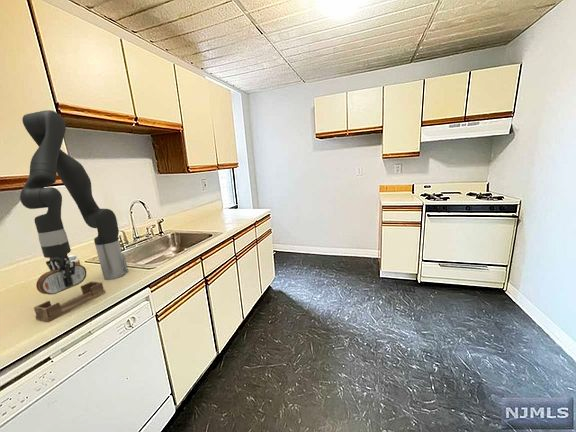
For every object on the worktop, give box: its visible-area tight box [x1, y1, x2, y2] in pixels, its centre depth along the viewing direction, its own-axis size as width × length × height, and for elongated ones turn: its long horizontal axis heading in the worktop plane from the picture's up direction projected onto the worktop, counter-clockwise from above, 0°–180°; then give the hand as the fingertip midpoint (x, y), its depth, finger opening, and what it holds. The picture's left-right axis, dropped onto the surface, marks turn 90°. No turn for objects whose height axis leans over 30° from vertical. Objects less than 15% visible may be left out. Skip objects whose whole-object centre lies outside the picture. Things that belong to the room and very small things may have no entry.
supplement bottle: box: [67, 254, 81, 265], centre depth 129 cm, size 5×5×10 cm
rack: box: [33, 280, 107, 323], centre depth 97 cm, size 7×20×5 cm, turn 161°
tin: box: [35, 264, 87, 296], centre depth 95 cm, size 15×3×8 cm, turn 160°
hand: (66, 285), depth 96 cm, fingers closed on tin, 2 cm apart
